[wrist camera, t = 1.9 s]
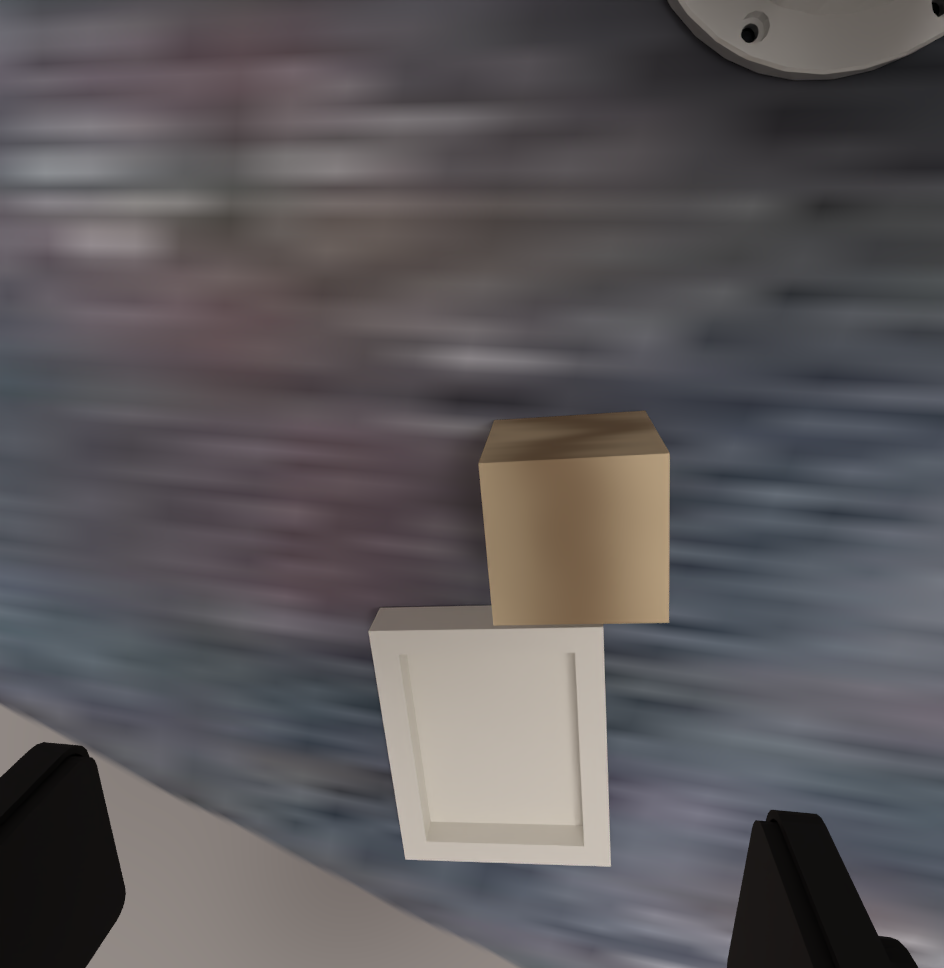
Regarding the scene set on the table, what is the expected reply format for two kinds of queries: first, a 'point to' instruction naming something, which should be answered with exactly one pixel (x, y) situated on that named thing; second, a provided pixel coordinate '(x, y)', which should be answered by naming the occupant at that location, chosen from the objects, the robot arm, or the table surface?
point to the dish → (494, 736)
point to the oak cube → (577, 520)
